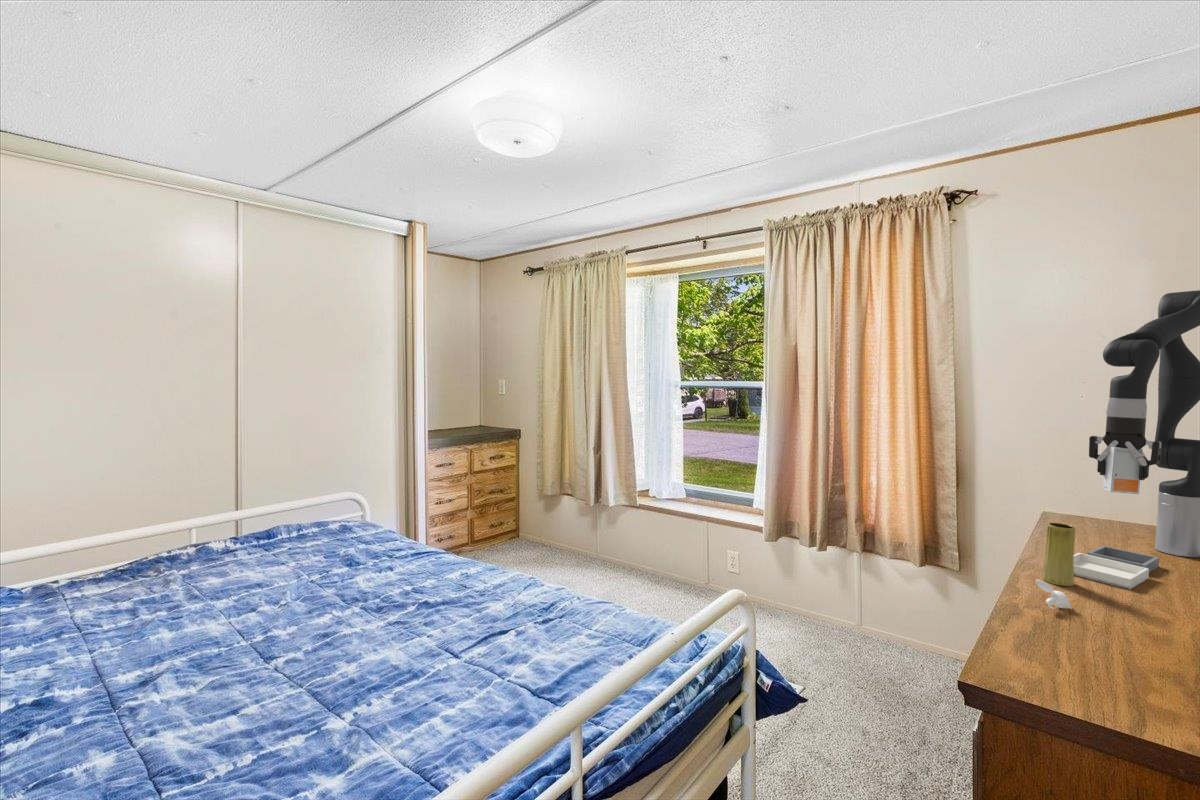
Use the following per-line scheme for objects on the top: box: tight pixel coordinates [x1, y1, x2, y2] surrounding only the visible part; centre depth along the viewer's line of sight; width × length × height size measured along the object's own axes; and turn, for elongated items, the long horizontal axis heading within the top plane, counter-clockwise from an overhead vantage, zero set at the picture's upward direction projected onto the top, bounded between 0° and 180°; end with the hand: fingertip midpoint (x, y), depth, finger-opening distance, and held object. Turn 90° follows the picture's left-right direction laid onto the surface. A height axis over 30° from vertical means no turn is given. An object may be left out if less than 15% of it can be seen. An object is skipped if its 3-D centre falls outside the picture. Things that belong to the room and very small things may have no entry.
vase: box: [1041, 522, 1076, 587], centre depth 135 cm, size 6×6×14 cm
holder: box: [1087, 545, 1160, 573], centre depth 148 cm, size 12×12×2 cm
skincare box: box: [1102, 445, 1144, 495], centre depth 144 cm, size 6×4×12 cm
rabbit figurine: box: [1035, 579, 1073, 610], centre depth 120 cm, size 6×4×8 cm
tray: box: [1074, 552, 1150, 590], centre depth 140 cm, size 14×14×2 cm
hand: (1121, 477), depth 144 cm, fingers closed on skincare box, 7 cm apart
